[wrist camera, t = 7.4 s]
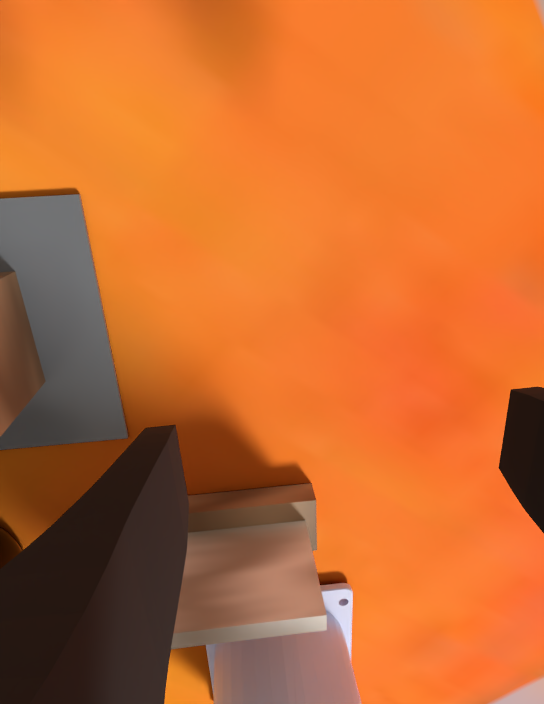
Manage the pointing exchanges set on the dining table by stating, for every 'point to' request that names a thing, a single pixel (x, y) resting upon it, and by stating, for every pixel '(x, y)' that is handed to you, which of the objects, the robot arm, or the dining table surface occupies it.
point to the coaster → (61, 324)
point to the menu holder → (250, 567)
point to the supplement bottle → (7, 548)
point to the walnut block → (16, 353)
